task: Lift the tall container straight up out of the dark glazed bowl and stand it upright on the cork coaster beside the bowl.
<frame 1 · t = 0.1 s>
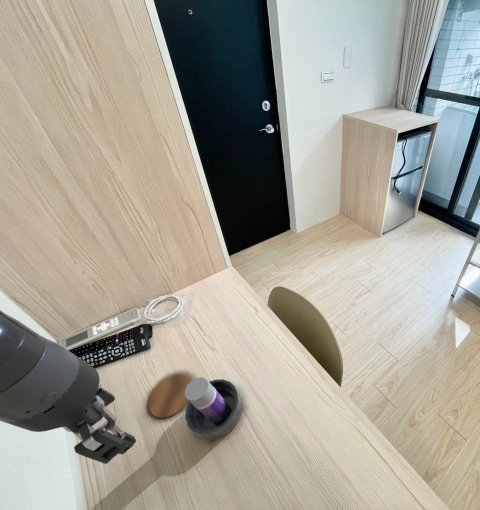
hand: (117, 423, 41), 25 cm above the table, tool pointing down, fingers open, 8 cm apart
coaster: (171, 395, 67), on the table
bowl: (219, 412, 65), on the table
container: (219, 411, 65), resting on bowl
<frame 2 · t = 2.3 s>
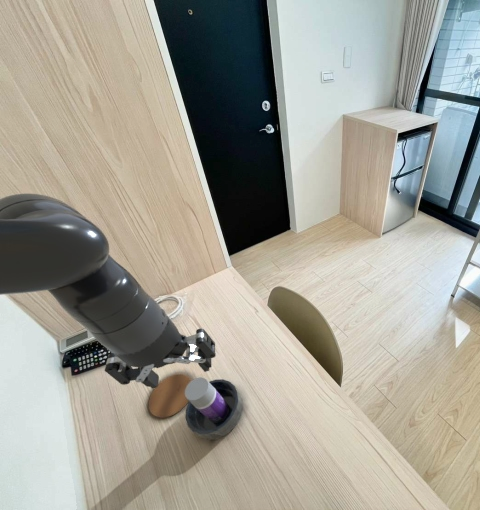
hand: (182, 374, 49), 23 cm above the table, tool pointing down, fingers open, 8 cm apart
nothing on the table moved.
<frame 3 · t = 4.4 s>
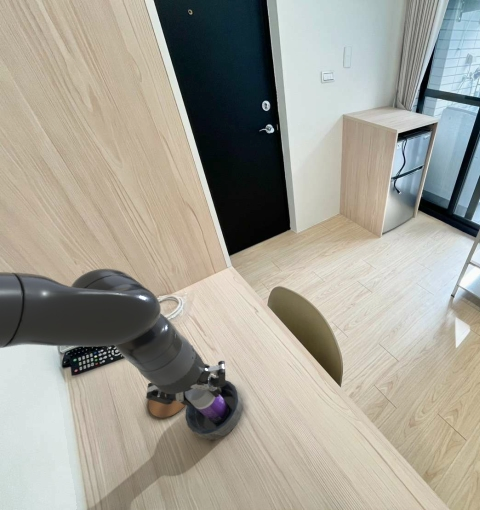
hand: (204, 396, 57), 11 cm above the table, tool pointing down, fingers closed on container, 4 cm apart
container: (219, 411, 65), resting on bowl, touching gripper
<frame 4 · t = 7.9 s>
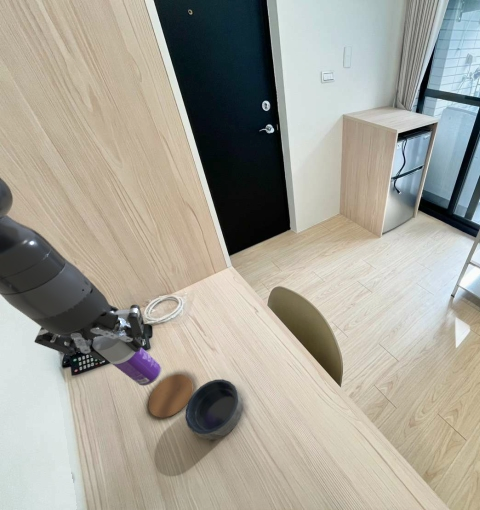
hand: (122, 351, 50), 25 cm above the table, tool pointing down, fingers closed on container, 4 cm apart
container: (149, 374, 57), point 14 cm above the table, touching gripper
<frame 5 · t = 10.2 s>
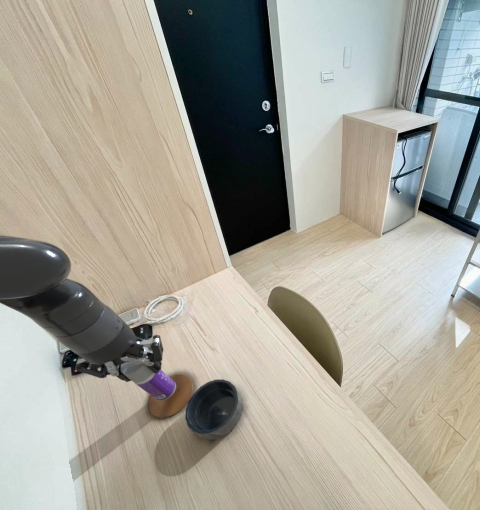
hand: (144, 372, 57), 14 cm above the table, tool pointing down, fingers closed on container, 4 cm apart
container: (165, 390, 65), point 3 cm above the table, touching gripper
when the fingers open (11 cm above the table, at t = 11.6 s): container stays where it is, resting on coaster.
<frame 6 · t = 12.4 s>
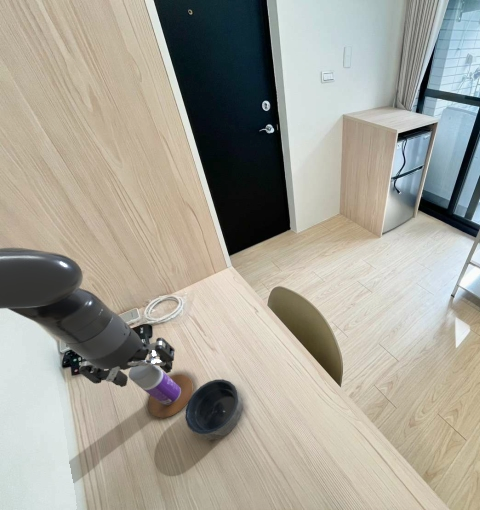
hand: (147, 375, 59), 12 cm above the table, tool pointing down, fingers open, 8 cm apart
container: (171, 395, 67), resting on coaster
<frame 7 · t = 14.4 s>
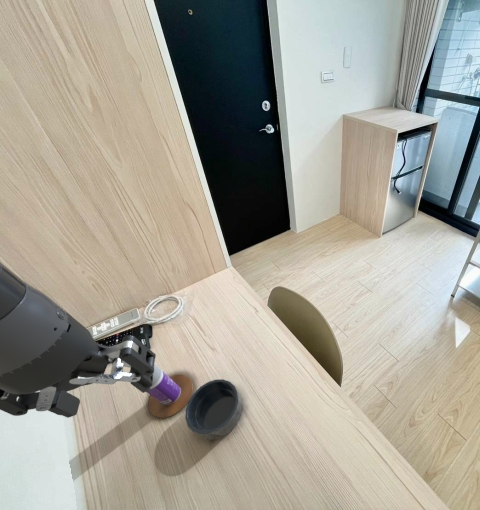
hand: (113, 396, 37), 33 cm above the table, tool pointing down, fingers open, 8 cm apart
nothing on the table moved.
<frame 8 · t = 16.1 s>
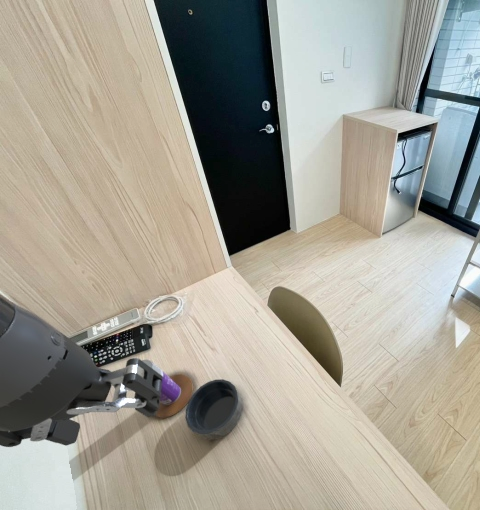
hand: (116, 421, 33), 34 cm above the table, tool pointing down, fingers open, 8 cm apart
nothing on the table moved.
at the end: container inside the target area on the coaster (0.1 cm from its centre), point 0.2 cm above the coaster's base; container tilted 0°; container touching coaster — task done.
